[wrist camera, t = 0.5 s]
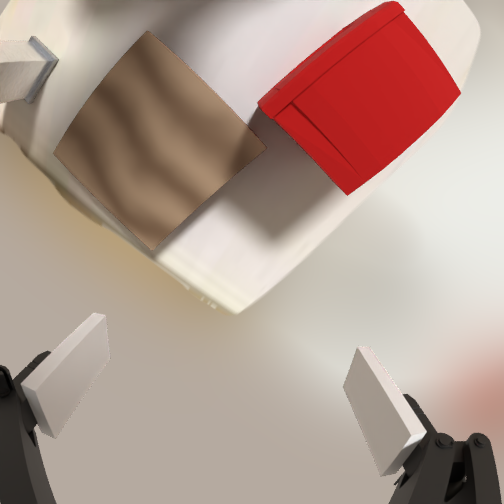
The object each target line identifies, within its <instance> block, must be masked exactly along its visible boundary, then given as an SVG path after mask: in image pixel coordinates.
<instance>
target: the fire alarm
mask: <svg viewBox="0 0 504 504" xmlns="http://www.w3.org/2000/svg"><path fill="white" fill-rule="evenodd" d="M403 11H405V10H404V8H403V7H402V6H401V5H400V4H399V3H398V2H396V1H390V2H384V3H382V4H381V5H379V6H377V7H375V8H374V9H372V10H370V11H368V12H366V13H365V14H363V15H362V16H360V17H359V18H358V19H356V20H355V21H353V22H352V23H350V24H349V25H347V26H346V27H344V28H343V29H342V30H341V31H339V32H338V33H337V34H336V35H334V36H333V37H332V38H331V39H329V40H328V41H327V42H326V43H324V44H323V45H322V46H321V47H319V48H318V49H317V50H316V51H315V52H313V53H312V54H311V55H310V56H308V57H307V58H306V59H305V60H304V61H303V62H301V63H300V64H299V65H298V66H297V67H296V68H294V69H293V70H292V71H291V72H290V73H289V74H288V75H286V76H285V77H284V78H283V79H282V80H281V81H280V82H279V83H277V84H276V85H275V86H274V87H273V88H272V89H271V90H270V91H269V92H268V93H266V94H265V95H264V96H263V97H262V98H261V99H260V100H259V101H258V106H259V108H260V109H261V110H262V111H263V112H264V113H265V114H266V115H267V116H268V117H269V118H270V119H273V120H274V121H275V122H276V123H277V124H278V125H279V126H280V127H281V128H282V129H283V130H284V131H285V132H287V133H288V134H289V135H290V136H291V137H292V138H293V139H294V140H295V141H296V142H297V143H298V144H299V146H300V147H301V148H302V149H303V150H304V151H305V152H306V153H307V154H308V155H309V156H310V157H311V158H312V159H313V160H314V161H315V162H316V163H317V164H318V165H319V166H320V168H321V169H322V170H323V171H324V172H325V173H326V174H327V175H328V176H329V177H330V179H331V180H332V181H333V182H334V183H335V184H336V185H337V186H338V187H339V188H340V189H341V190H342V191H343V192H344V193H345V194H346V195H347V196H348V195H349V194H350V193H352V192H353V191H355V190H356V189H357V188H359V187H360V186H361V185H363V184H364V183H365V182H367V181H368V180H369V179H371V178H372V177H373V176H375V175H376V174H377V173H379V172H380V171H381V170H383V169H384V168H385V167H386V166H387V165H389V164H390V163H391V162H392V161H393V160H395V159H396V158H397V157H398V156H399V155H400V154H402V153H403V152H404V151H405V150H406V149H407V148H408V147H409V146H411V145H412V144H413V143H414V142H415V141H416V140H417V139H418V138H419V137H421V136H422V135H423V134H424V133H425V132H426V131H427V130H428V129H429V128H430V127H431V126H432V125H433V124H434V123H435V122H436V121H437V120H438V119H439V118H440V117H441V116H442V115H443V114H444V113H445V112H446V111H447V110H448V108H449V107H450V106H451V105H452V104H453V103H454V101H455V100H456V99H457V98H458V96H459V95H460V94H461V92H460V90H459V88H458V87H457V85H456V83H455V82H454V80H453V78H452V77H451V75H450V74H449V72H448V70H447V69H446V67H445V66H444V64H443V63H442V61H441V60H440V58H439V57H438V55H437V54H436V52H435V51H434V50H433V48H432V47H431V46H430V44H429V43H428V41H427V40H426V39H425V37H424V36H423V35H422V34H421V32H420V31H419V30H418V29H417V27H416V26H415V25H414V24H413V22H412V21H411V20H410V19H409V18H408V16H407V15H406V14H405V13H404V12H403Z"/></svg>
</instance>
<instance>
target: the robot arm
mask: <svg viewBox="0 0 504 504" xmlns="http://www.w3.org/2000/svg"><path fill="white" fill-rule="evenodd" d="M109 360H110V350H109V341H108V332H107V321H106V315H102V314H98V313H93V314H92V315H91V316H90V317H89V318H87V319H86V320H85V321H84V322H83V323H82V324H81V325H80V326H79V327H78V328H77V329H76V330H74V331H73V332H72V333H71V334H70V335H69V336H68V337H67V338H66V339H65V340H64V341H63V342H62V343H61V344H60V345H59V346H58V347H57V348H56V349H55V350H54V351H53V352H49V351H46V352H43V353H41V354H39V355H38V356H37V357H36V358H35V359H34V360H33V361H32V362H30V363H29V364H28V366H27V367H25V368H24V369H23V370H22V371H21V372H20V373H19V374H18V375H17V376H16V377H15V378H14V379H13V380H12V378H11V375H10V372H9V370H8V369H7V368H6V367H5V366H2V365H0V503H1V504H56V501H55V499H54V496H53V493H52V490H51V488H50V485H49V481H48V479H47V475H46V472H45V468H44V465H43V461H42V458H41V454H40V450H39V446H38V442H37V437H36V433H35V431H34V427H35V426H36V424H38V426H39V428H40V430H41V432H42V433H44V434H46V435H48V436H50V437H52V438H55V439H56V438H57V436H58V435H59V433H60V431H61V430H62V428H63V427H64V425H65V424H66V422H67V421H68V419H69V418H70V416H71V415H72V413H73V412H74V410H75V409H76V407H77V406H78V404H79V403H80V401H81V399H82V398H83V397H84V395H85V394H86V393H87V391H88V390H89V388H90V387H91V385H92V384H93V382H94V381H95V379H96V378H97V377H98V375H99V374H100V372H101V371H102V369H103V368H104V367H105V365H106V364H107V363H108V361H109ZM343 388H344V391H345V393H346V395H347V398H348V400H349V402H350V404H351V407H352V409H353V411H354V414H355V416H356V418H357V421H358V423H359V425H360V427H361V430H362V432H363V435H364V437H365V439H366V442H367V444H368V446H369V449H370V451H371V454H372V456H373V458H374V461H375V463H376V466H377V468H378V471H379V473H380V476H386V475H391V474H395V473H396V472H397V471H398V470H399V469H400V468H401V466H402V465H403V467H404V469H405V472H404V473H403V474H402V475H401V476H400V477H399V479H398V480H397V481H396V482H395V483H394V485H396V484H397V483H398V482H399V483H398V485H397V487H396V489H395V491H394V494H393V496H392V498H391V500H390V502H389V504H502V503H501V494H500V487H499V481H498V475H497V469H496V464H495V460H494V455H493V451H492V446H491V442H490V440H489V439H488V438H487V437H486V436H485V435H484V434H481V433H473V434H472V435H470V437H469V438H468V440H467V441H457V442H456V441H454V440H453V438H452V437H451V436H449V435H447V434H445V433H437V431H436V430H435V429H434V427H433V425H432V424H431V422H430V421H429V419H428V418H427V417H426V415H425V414H424V412H423V411H422V409H421V408H420V406H419V405H418V404H417V402H416V401H415V400H414V399H413V398H412V397H410V396H409V395H408V394H401V392H400V390H399V389H398V387H397V386H396V384H395V383H394V381H393V380H392V379H391V377H390V375H389V374H388V373H387V371H386V370H385V368H384V367H383V365H382V364H381V362H380V361H379V359H378V358H377V357H376V355H375V354H374V352H373V351H372V350H371V348H370V347H357V349H356V352H355V355H354V358H353V361H352V364H351V366H350V369H349V372H348V375H347V377H346V380H345V383H344V385H343ZM465 477H466V478H465Z"/></svg>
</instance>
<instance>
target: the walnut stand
mask: <svg viewBox="0 0 504 504" xmlns="http://www.w3.org/2000/svg"><path fill="white" fill-rule="evenodd" d="M266 149H267V147H266V146H265V145H264V143H263V142H262V141H261V140H260V139H259V138H258V137H257V136H256V135H255V133H254V132H253V131H252V130H251V129H250V128H249V127H248V126H247V125H246V124H245V123H244V122H243V121H242V119H241V118H240V117H239V116H238V115H237V114H236V113H235V112H234V111H233V110H232V109H231V108H230V107H229V106H228V105H227V104H226V103H225V102H224V101H223V100H222V99H221V98H220V97H219V96H218V95H217V94H216V93H215V92H214V91H213V90H212V89H211V88H210V87H209V86H208V85H207V84H206V83H205V82H204V81H203V80H202V79H201V78H200V77H199V76H198V75H197V74H196V73H195V72H194V71H193V70H192V69H191V68H190V67H189V66H187V65H186V64H185V63H184V62H183V61H182V60H181V59H180V58H179V57H178V56H177V55H176V54H174V53H173V52H172V51H171V50H170V49H169V48H168V47H167V46H166V45H164V44H163V43H162V42H161V41H160V40H159V39H158V38H156V37H155V36H154V35H153V34H152V33H151V32H149V31H146V32H145V33H144V34H143V35H142V36H141V37H140V38H139V39H138V40H137V41H136V42H135V43H134V45H133V46H132V47H131V48H130V49H129V50H128V51H127V52H126V53H125V54H124V55H123V56H122V58H121V59H120V60H119V61H118V62H117V63H116V64H115V66H114V67H113V68H112V69H111V70H110V71H109V73H108V74H107V75H106V76H105V78H104V79H103V80H102V81H101V83H100V84H99V85H98V86H97V88H96V89H95V90H94V92H93V93H92V94H91V96H90V97H89V98H88V100H87V101H86V102H85V104H84V105H83V107H82V108H81V110H80V111H79V112H78V114H77V115H76V117H75V118H74V120H73V121H72V123H71V124H70V126H69V128H68V129H67V131H66V132H65V134H64V136H63V137H62V139H61V140H60V142H59V144H58V145H57V147H56V149H55V151H54V152H53V154H54V155H55V156H56V157H57V158H58V159H59V160H60V161H61V163H62V164H63V165H64V166H65V167H66V168H67V169H68V170H69V171H70V172H71V173H72V174H73V175H74V176H75V177H76V178H77V179H78V180H79V181H80V182H81V183H82V184H83V185H84V186H85V187H86V188H87V189H88V190H89V191H90V192H91V194H92V195H94V196H95V197H96V198H97V199H98V200H99V201H100V202H101V203H102V204H103V205H104V206H105V207H106V208H107V209H108V210H109V211H110V212H111V213H112V214H113V215H114V216H115V217H116V218H117V219H118V220H119V221H120V222H121V223H122V224H123V225H124V226H126V227H127V228H128V229H129V230H130V231H131V232H132V233H133V234H134V235H135V236H136V237H137V238H138V239H140V240H141V241H142V242H143V243H144V244H145V245H146V246H147V247H148V248H149V249H151V250H153V249H154V248H155V247H157V246H158V245H159V244H160V243H161V242H162V241H163V240H164V239H165V238H166V237H167V236H168V235H169V234H170V233H171V232H172V231H173V230H174V229H175V228H176V227H177V226H179V225H180V224H181V223H182V222H183V221H184V220H185V219H186V218H187V217H188V216H189V215H190V214H191V213H193V212H194V211H195V210H196V209H197V208H198V207H199V206H200V205H201V204H202V203H204V202H205V201H206V200H207V199H208V198H209V197H210V196H211V195H213V194H214V193H215V192H216V191H217V190H218V189H219V188H221V187H222V186H223V185H224V184H225V183H226V182H227V181H229V180H230V179H231V178H232V177H233V176H234V175H236V174H237V173H238V172H239V171H240V170H241V169H243V168H244V167H245V166H246V165H247V164H249V163H250V162H251V161H252V160H253V159H255V158H256V157H257V156H258V155H260V154H261V153H262V152H263V151H264V150H266Z"/></svg>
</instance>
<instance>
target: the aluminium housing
mask: <svg viewBox="0 0 504 504" xmlns="http://www.w3.org/2000/svg"><path fill="white" fill-rule="evenodd" d="M58 60H59V59H58V58H57V57H56V56H55V55H54V54H53V53H52V52H51V51H50V50H49V49H48V48H47V47H46V46H45V45H44V44H43V43H42V42H41V41H40V40H39V39H38V38H37V37H36V36H31V38H30V40H29V41H0V104H1V103H5V102H10V101H15V100H19V99H25V100H26V102H27V103H28V104H29V103H32V102H33V100H34V99H35V97H36V95H37V93H38V92H39V90H40V88H41V87H42V85H43V83H44V82H45V80H46V78H47V77H48V75H49V74H50V72H51V71H52V69H53V68H54V66H55V65H56V63H57V62H58Z"/></svg>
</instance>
